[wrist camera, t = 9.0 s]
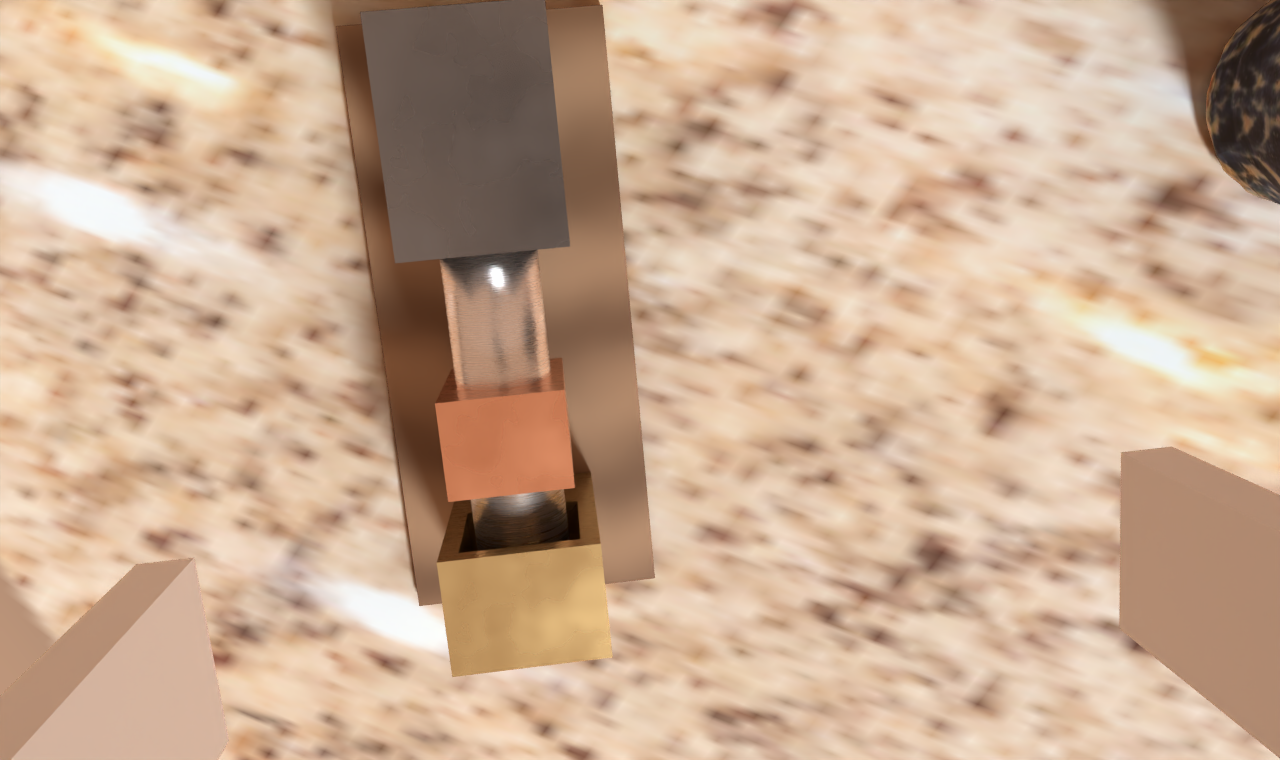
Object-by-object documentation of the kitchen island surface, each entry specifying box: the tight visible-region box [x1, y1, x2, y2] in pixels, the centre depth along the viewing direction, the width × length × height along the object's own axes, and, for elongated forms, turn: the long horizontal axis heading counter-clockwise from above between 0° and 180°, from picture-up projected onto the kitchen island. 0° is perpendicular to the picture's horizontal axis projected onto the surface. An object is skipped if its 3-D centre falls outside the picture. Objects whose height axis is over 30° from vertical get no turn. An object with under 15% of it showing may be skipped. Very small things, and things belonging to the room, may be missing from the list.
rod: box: [435, 250, 575, 551], centre depth 43 cm, size 17×5×7 cm, turn 5°
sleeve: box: [360, 0, 570, 263], centre depth 43 cm, size 9×7×11 cm
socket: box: [437, 472, 612, 677], centre depth 47 cm, size 5×7×11 cm
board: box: [336, 5, 655, 606], centre depth 50 cm, size 28×12×1 cm, turn 5°
